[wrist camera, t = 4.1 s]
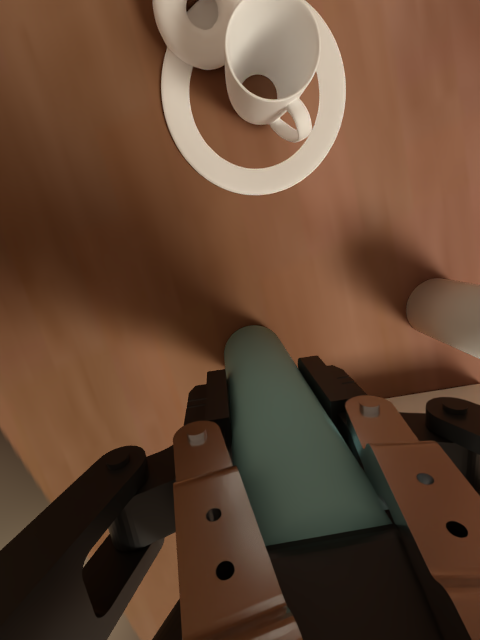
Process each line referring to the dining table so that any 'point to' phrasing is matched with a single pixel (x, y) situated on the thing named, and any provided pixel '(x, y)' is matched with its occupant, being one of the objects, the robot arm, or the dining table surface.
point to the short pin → (447, 313)
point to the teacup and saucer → (242, 62)
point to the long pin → (291, 447)
